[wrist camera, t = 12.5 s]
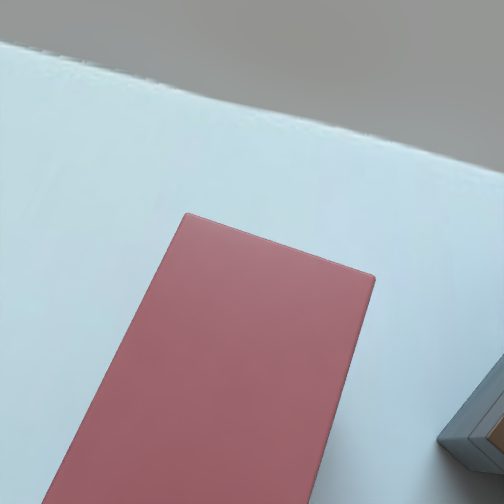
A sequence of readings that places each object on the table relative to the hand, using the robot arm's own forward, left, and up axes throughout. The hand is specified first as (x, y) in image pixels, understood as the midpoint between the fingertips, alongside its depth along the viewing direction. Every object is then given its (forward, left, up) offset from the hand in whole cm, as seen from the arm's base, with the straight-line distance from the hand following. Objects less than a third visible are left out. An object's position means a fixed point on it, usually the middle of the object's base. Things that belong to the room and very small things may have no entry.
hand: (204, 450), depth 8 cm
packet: (0, +1, -9) cm, 9 cm away
